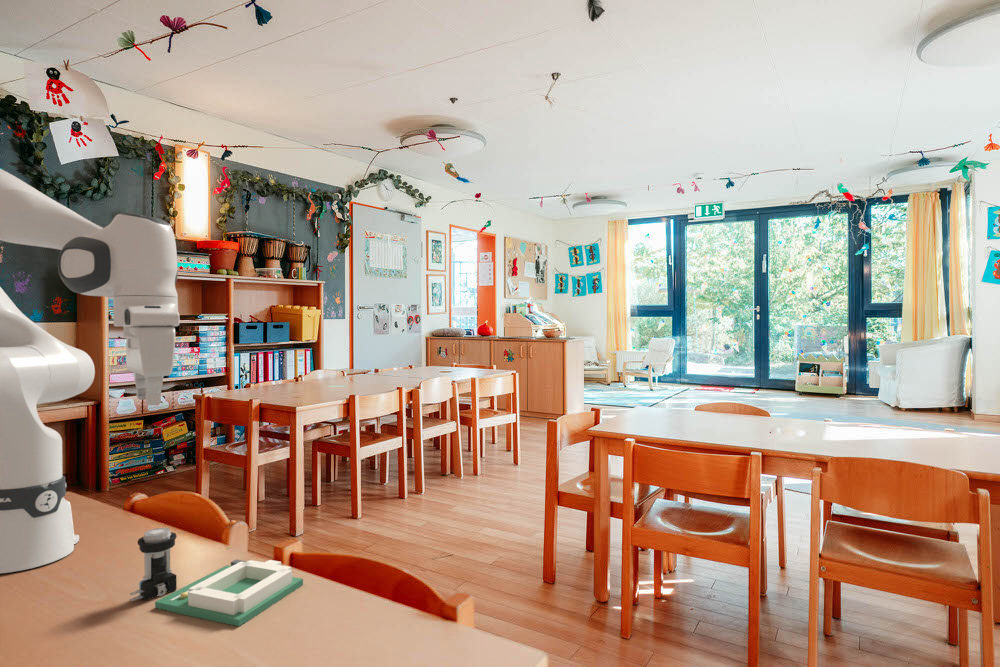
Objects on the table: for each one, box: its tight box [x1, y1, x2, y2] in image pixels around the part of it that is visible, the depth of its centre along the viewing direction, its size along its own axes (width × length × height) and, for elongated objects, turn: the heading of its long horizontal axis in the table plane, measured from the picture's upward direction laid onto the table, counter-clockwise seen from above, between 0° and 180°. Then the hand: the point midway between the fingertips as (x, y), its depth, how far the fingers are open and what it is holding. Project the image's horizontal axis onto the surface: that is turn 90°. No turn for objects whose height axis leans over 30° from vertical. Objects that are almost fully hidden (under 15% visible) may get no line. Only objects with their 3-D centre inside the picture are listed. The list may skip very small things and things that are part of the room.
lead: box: [230, 559, 247, 566], centre depth 100 cm, size 10×1×1 cm, turn 71°
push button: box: [129, 527, 178, 602], centre depth 91 cm, size 7×5×10 cm
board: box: [154, 559, 304, 627], centre depth 91 cm, size 16×14×3 cm
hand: (148, 401), depth 92 cm, fingers open, 8 cm apart
